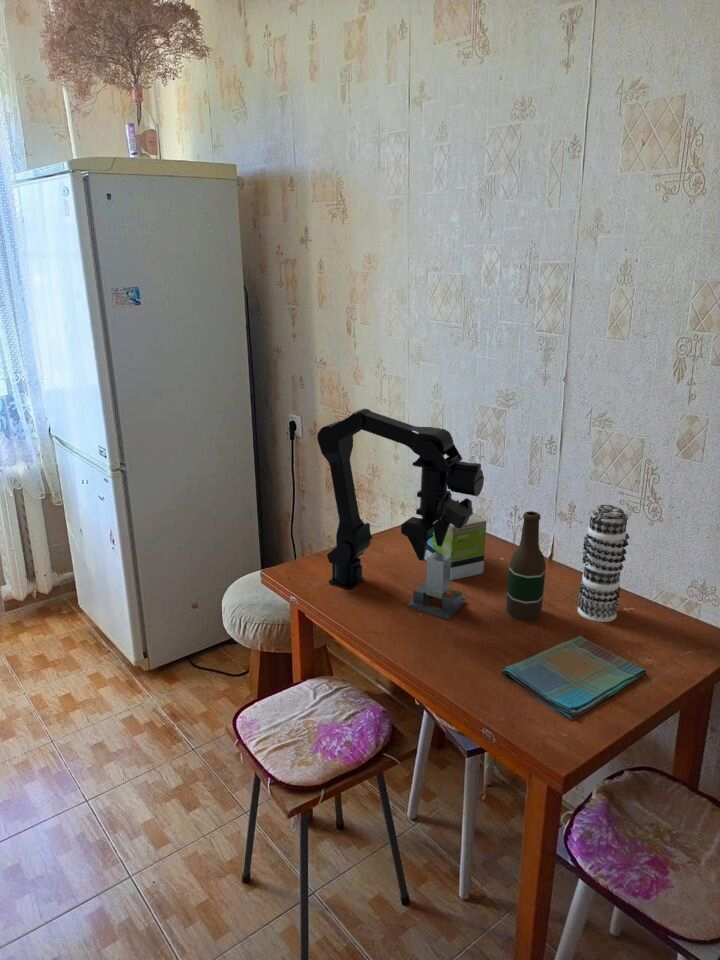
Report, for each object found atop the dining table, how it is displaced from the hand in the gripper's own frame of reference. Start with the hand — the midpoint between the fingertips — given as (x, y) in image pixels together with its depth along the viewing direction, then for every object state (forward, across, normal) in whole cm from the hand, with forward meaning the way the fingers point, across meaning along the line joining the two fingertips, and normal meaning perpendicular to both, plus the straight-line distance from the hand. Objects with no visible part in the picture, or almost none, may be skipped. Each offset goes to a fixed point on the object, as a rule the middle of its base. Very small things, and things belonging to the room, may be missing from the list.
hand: (430, 552), depth 161 cm
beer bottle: (+13, +7, -20) cm, 25 cm away
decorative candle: (+12, +16, -34) cm, 40 cm away
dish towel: (+13, -11, -37) cm, 41 cm away
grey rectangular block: (+10, 0, -2) cm, 10 cm away
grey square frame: (+13, 0, -2) cm, 13 cm away
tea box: (+13, +21, +4) cm, 25 cm away
